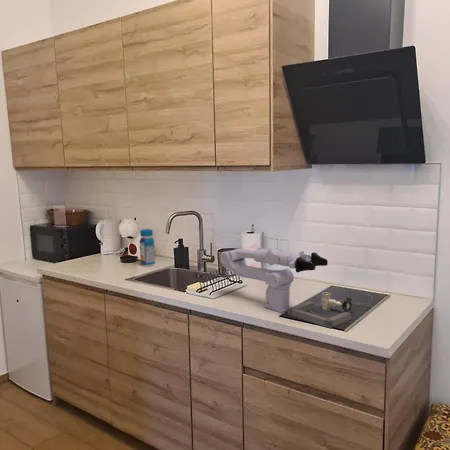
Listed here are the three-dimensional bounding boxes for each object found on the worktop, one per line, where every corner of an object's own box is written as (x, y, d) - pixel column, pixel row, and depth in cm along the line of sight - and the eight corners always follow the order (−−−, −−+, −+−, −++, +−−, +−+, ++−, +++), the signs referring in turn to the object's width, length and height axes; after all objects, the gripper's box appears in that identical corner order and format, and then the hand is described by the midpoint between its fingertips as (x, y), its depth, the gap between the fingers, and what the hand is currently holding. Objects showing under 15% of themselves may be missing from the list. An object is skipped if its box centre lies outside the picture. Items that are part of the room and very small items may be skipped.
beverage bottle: (151, 266, 264) (150, 231, 261) (137, 266, 266) (136, 231, 263) (157, 263, 272) (156, 229, 269) (143, 262, 274) (142, 228, 271)
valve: (317, 310, 189) (344, 316, 182) (317, 294, 188) (345, 300, 181) (325, 305, 194) (352, 312, 186) (325, 290, 193) (353, 296, 185)
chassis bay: (287, 314, 184) (287, 308, 184) (308, 307, 193) (309, 301, 192) (329, 328, 169) (329, 321, 169) (350, 319, 178) (350, 313, 177)
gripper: (279, 253, 179) (308, 258, 169) (303, 246, 189) (331, 250, 179) (280, 271, 180) (309, 277, 170) (303, 263, 190) (332, 268, 180)
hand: (321, 264), depth 174 cm, fingers open, 7 cm apart
